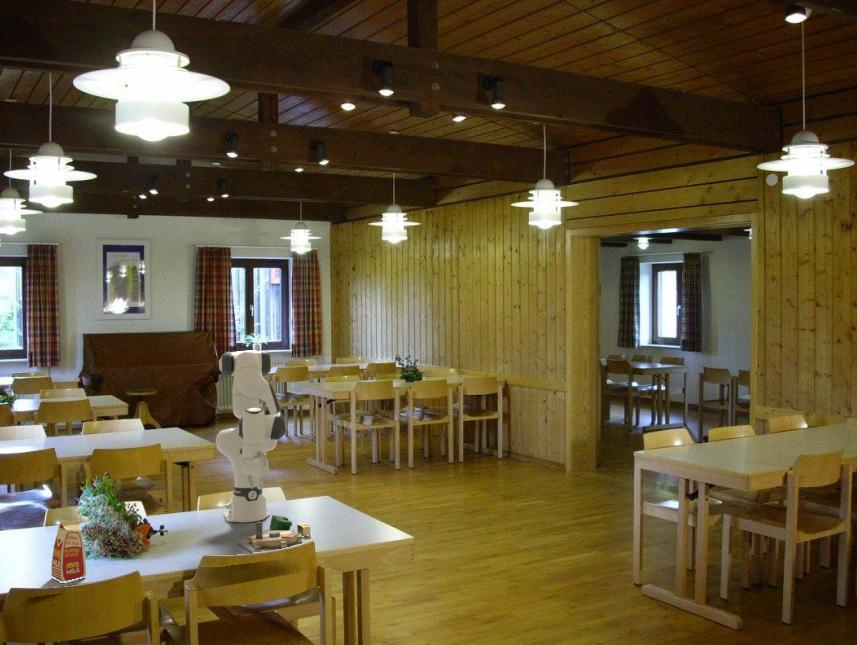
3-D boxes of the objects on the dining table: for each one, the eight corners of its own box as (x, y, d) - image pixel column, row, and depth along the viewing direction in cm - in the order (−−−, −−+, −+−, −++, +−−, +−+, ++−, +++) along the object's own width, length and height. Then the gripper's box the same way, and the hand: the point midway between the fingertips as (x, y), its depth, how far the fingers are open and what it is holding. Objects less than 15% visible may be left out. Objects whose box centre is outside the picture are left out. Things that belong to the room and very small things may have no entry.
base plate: (237, 542, 325) (237, 540, 325) (291, 534, 336) (291, 532, 336) (256, 556, 306) (256, 553, 306) (313, 546, 317) (313, 544, 317)
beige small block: (297, 534, 337) (297, 523, 336) (304, 533, 338) (304, 522, 338) (303, 537, 331) (302, 527, 331) (310, 536, 333) (310, 525, 333)
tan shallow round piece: (242, 539, 325) (241, 518, 325) (288, 532, 335) (287, 511, 335) (259, 551, 308) (259, 529, 308) (308, 543, 317) (307, 522, 317)
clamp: (287, 544, 338) (293, 525, 335) (272, 542, 336) (279, 523, 333) (283, 526, 348) (289, 508, 346) (269, 524, 346) (275, 505, 344)
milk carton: (62, 584, 278) (61, 523, 278) (49, 579, 284) (48, 519, 284) (89, 577, 285) (88, 517, 285) (76, 572, 291) (75, 514, 291)
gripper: (273, 452, 317) (273, 490, 317) (252, 447, 335) (253, 483, 334) (256, 454, 314) (257, 492, 314) (237, 449, 331) (238, 485, 331)
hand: (255, 487), depth 324 cm, fingers open, 8 cm apart
